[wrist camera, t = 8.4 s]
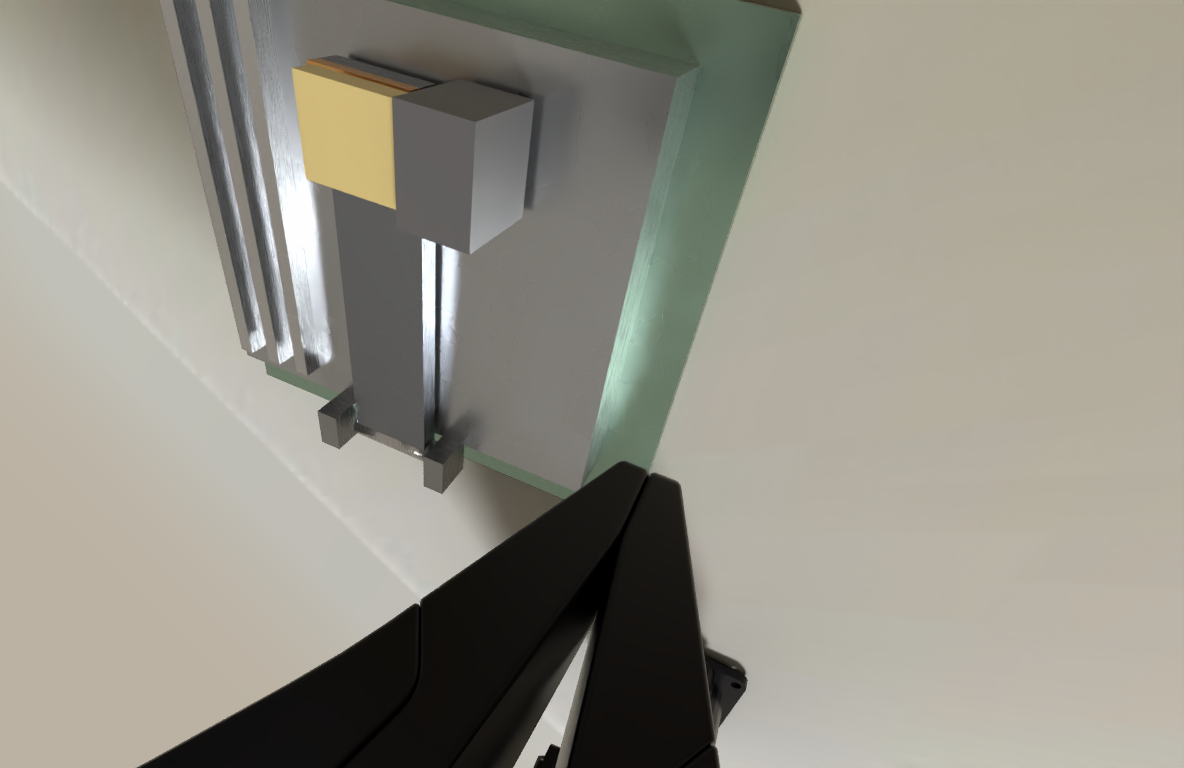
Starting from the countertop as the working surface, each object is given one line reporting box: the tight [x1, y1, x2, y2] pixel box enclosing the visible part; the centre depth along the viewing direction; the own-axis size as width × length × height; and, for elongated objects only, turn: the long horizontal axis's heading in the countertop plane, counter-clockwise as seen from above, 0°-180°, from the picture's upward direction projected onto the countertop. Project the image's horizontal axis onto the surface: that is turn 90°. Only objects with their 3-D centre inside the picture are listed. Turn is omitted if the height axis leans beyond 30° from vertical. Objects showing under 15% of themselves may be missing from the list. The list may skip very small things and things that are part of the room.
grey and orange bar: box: [307, 55, 437, 461], centre depth 19 cm, size 14×3×1 cm, turn 170°
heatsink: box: [159, 0, 802, 499], centre depth 20 cm, size 19×19×4 cm
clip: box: [292, 64, 534, 255], centre depth 15 cm, size 3×5×3 cm, turn 79°
